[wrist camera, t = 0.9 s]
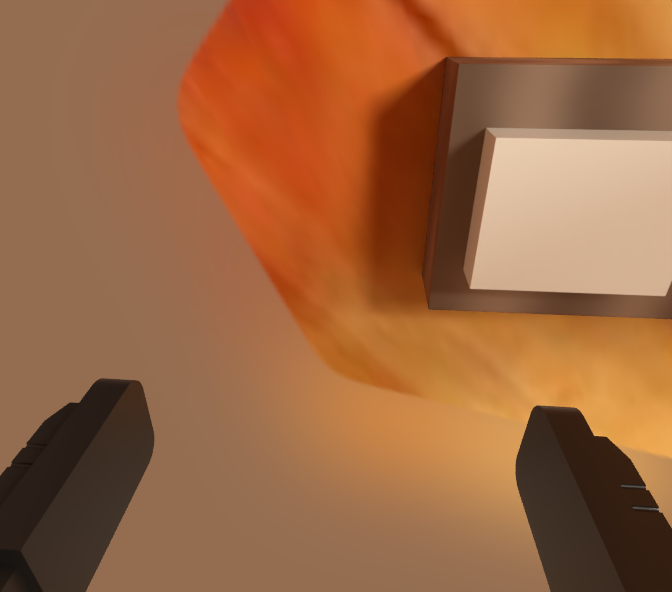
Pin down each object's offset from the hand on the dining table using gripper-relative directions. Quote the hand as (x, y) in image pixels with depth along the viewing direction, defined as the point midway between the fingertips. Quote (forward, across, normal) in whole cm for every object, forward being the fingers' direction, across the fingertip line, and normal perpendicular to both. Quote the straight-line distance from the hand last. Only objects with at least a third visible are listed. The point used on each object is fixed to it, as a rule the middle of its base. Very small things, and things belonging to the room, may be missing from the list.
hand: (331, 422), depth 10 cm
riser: (+19, -11, 0) cm, 22 cm away
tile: (+15, -10, 0) cm, 18 cm away
